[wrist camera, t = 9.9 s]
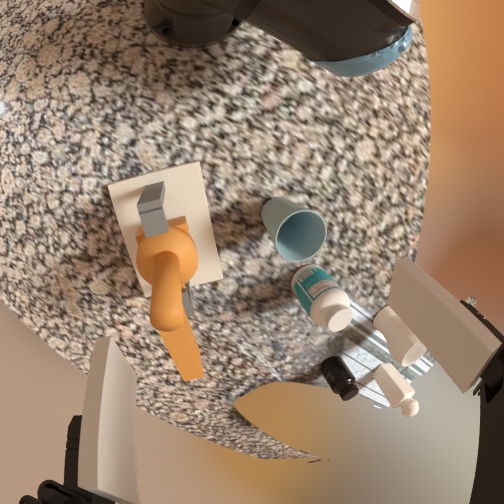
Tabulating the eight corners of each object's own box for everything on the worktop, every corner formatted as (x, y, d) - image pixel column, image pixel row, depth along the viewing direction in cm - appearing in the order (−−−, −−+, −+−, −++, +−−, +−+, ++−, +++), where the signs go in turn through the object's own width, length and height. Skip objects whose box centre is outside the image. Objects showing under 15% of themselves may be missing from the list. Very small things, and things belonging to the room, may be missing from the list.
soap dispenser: (369, 376, 81) (402, 423, 62) (380, 362, 79) (415, 410, 60) (381, 374, 84) (414, 418, 65) (391, 361, 81) (426, 405, 62)
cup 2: (402, 313, 70) (433, 346, 57) (374, 337, 71) (403, 373, 58) (394, 293, 65) (430, 328, 52) (363, 319, 66) (396, 359, 53)
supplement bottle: (326, 374, 72) (344, 405, 62) (315, 367, 69) (334, 400, 59) (345, 360, 72) (365, 390, 61) (335, 351, 68) (356, 383, 58)
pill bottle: (312, 297, 57) (344, 340, 45) (283, 291, 54) (311, 337, 43) (329, 267, 55) (366, 306, 43) (300, 258, 52) (335, 299, 40)
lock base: (109, 183, 37) (88, 205, 27) (198, 160, 39) (206, 173, 30) (146, 292, 47) (142, 336, 37) (221, 274, 49) (235, 314, 39)
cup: (285, 239, 49) (310, 268, 40) (246, 225, 46) (265, 253, 37) (305, 201, 47) (335, 222, 38) (266, 184, 44) (291, 201, 35)
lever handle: (160, 301, 43) (161, 385, 28) (128, 206, 35) (99, 266, 21) (207, 290, 44) (227, 371, 30) (183, 192, 36) (189, 243, 22)
